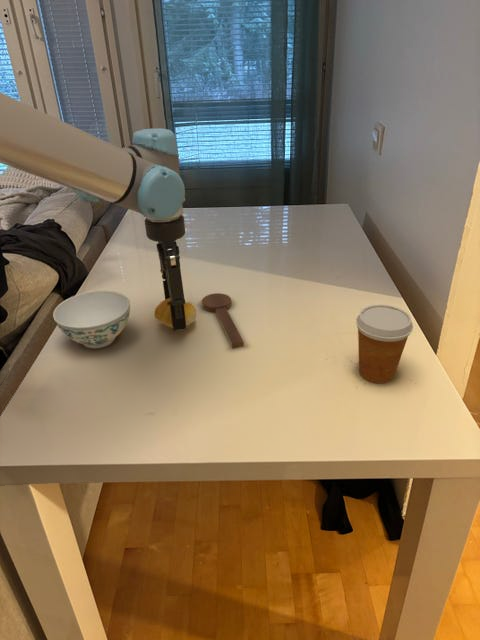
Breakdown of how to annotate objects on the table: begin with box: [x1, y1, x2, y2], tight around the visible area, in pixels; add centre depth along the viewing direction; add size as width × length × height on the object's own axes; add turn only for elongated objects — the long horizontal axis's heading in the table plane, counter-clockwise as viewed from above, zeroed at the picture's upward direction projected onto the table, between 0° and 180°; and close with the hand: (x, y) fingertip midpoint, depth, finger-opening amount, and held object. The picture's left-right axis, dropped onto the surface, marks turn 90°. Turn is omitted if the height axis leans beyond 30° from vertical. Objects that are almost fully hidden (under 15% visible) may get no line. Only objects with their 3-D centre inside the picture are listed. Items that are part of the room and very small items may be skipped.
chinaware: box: [52, 290, 131, 349], centre depth 96 cm, size 15×15×8 cm
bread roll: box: [153, 298, 197, 329], centre depth 100 cm, size 8×9×4 cm
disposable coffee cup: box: [355, 304, 414, 384], centre depth 83 cm, size 10×10×12 cm
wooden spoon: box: [201, 292, 244, 349], centre depth 103 cm, size 7×22×1 cm, turn 16°
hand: (175, 317), depth 100 cm, fingers closed on bread roll, 9 cm apart
